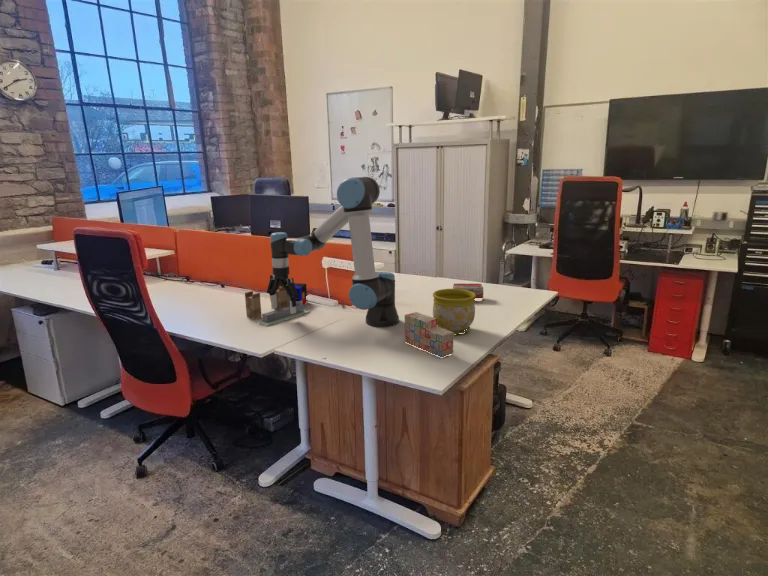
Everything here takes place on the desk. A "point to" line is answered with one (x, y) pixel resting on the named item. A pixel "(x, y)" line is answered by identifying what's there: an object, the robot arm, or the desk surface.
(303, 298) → the puzzle toy
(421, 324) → the stack of blocks
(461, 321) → the flowerpot
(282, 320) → the mat
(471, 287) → the medicine box
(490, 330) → the desk surface
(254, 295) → the stand
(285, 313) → the rail
